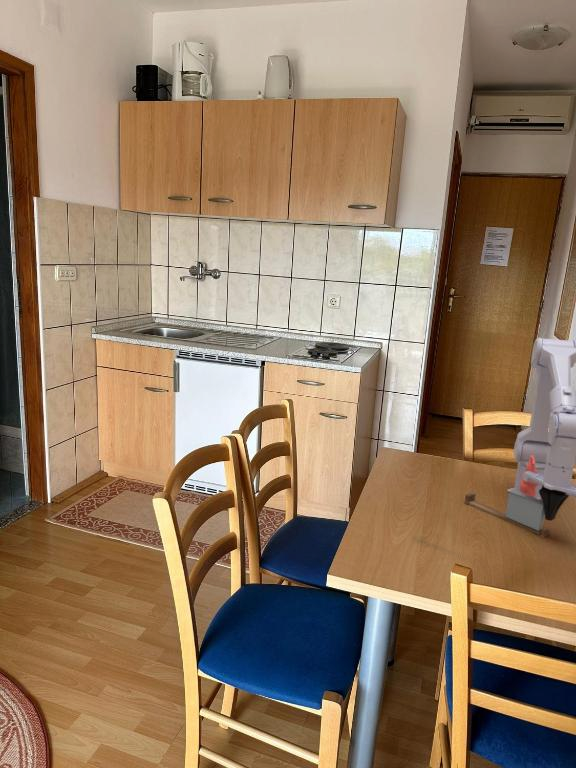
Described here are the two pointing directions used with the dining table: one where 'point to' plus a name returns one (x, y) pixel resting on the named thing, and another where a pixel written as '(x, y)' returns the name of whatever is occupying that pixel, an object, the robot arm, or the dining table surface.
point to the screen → (525, 509)
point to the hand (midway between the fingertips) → (549, 518)
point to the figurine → (529, 486)
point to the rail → (501, 515)
